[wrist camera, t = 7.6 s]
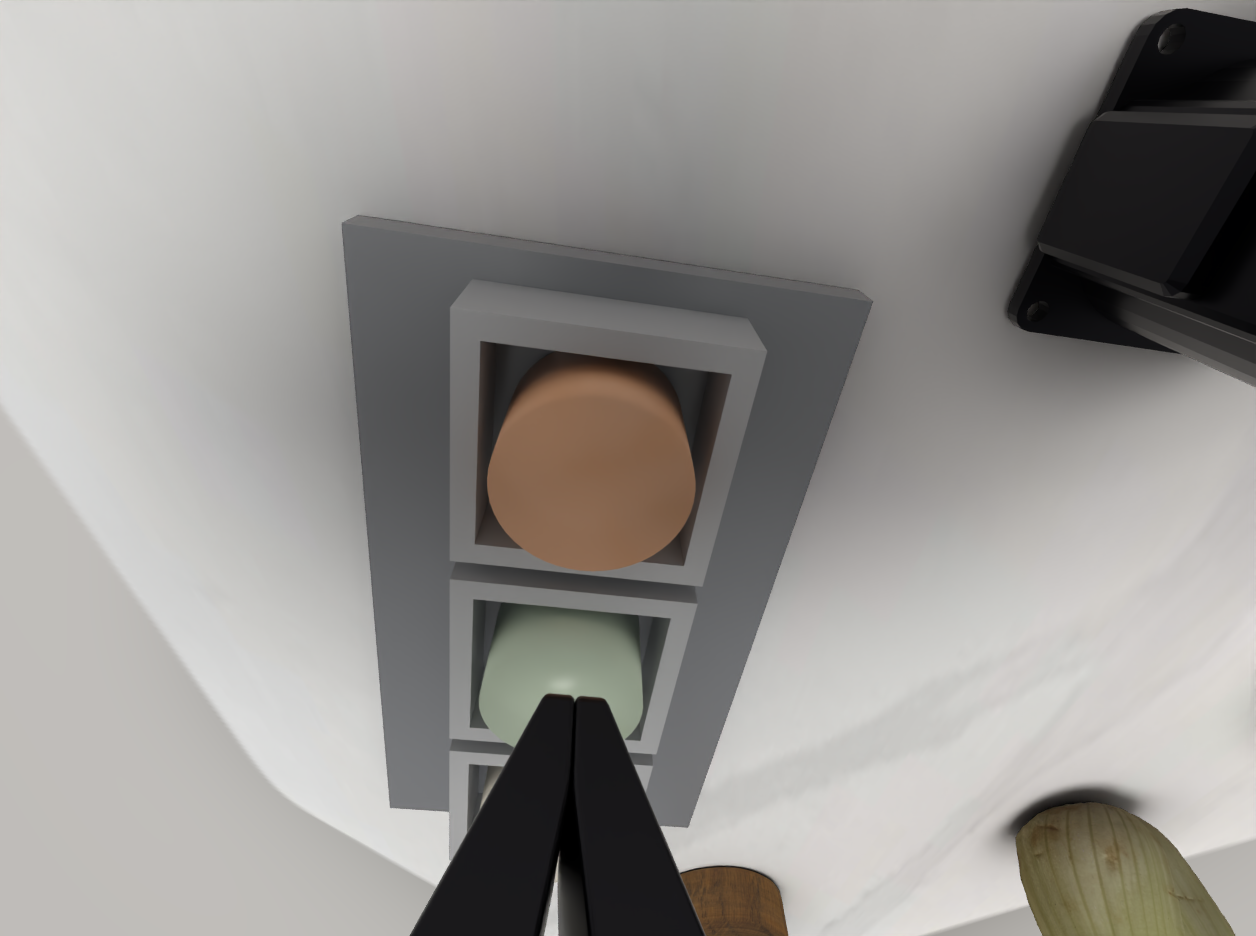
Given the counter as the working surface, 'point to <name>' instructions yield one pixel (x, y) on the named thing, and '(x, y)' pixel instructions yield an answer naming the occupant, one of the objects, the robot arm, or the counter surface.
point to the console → (502, 570)
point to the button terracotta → (592, 463)
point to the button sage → (560, 665)
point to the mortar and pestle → (735, 902)
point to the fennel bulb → (1110, 877)
